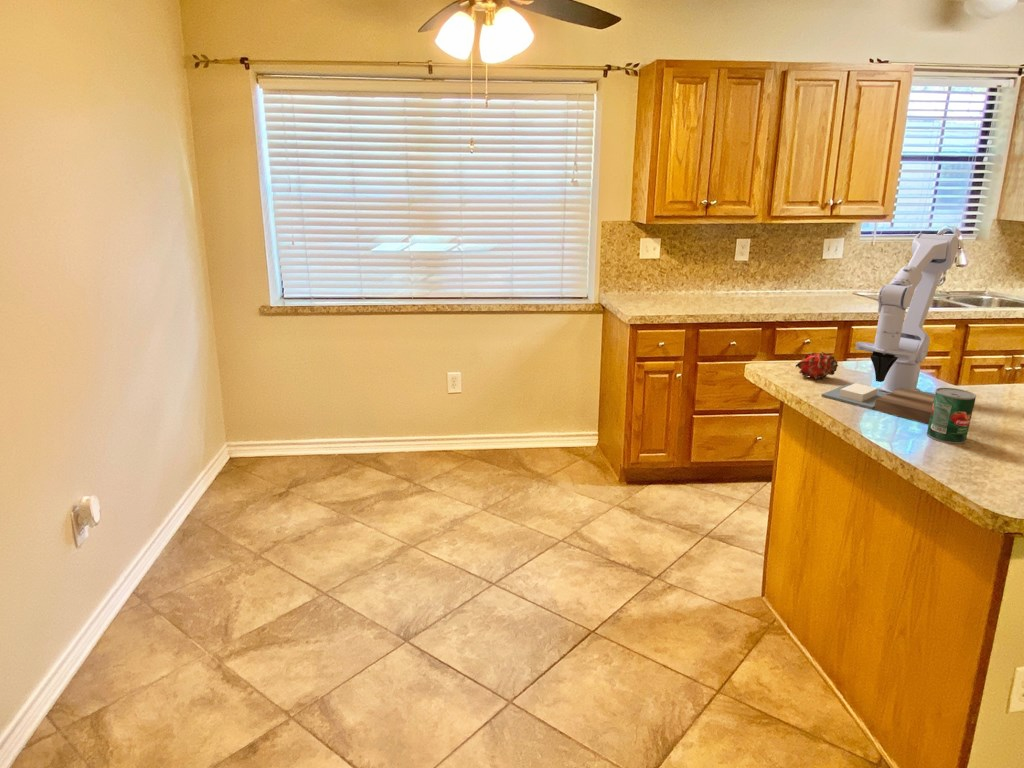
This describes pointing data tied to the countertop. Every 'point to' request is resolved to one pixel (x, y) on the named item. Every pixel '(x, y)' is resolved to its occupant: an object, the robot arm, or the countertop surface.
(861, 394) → the cream rectangular slab
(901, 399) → the brown wooden slab
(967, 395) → the canned tomato
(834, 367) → the dragon fruit
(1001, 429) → the countertop surface
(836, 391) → the mat
